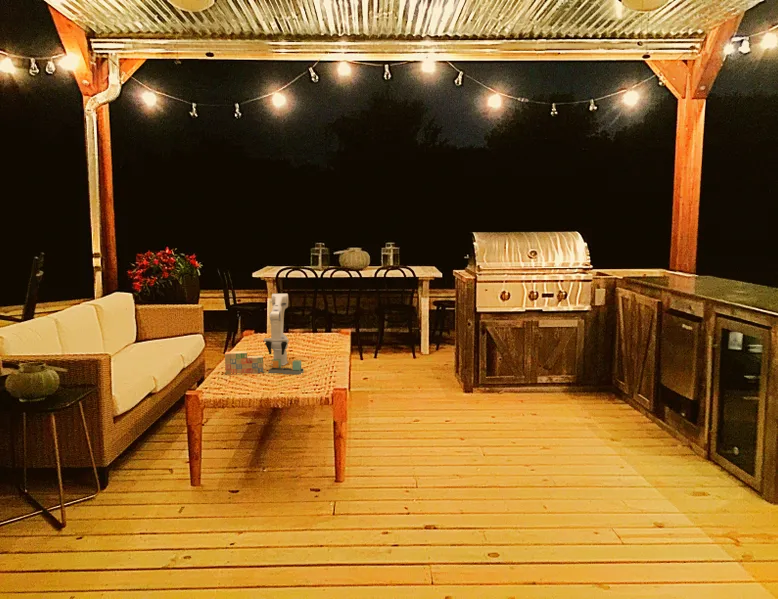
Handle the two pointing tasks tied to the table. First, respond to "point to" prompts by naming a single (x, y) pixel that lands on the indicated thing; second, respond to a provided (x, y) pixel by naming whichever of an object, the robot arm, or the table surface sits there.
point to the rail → (289, 369)
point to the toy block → (276, 363)
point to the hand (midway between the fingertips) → (276, 354)
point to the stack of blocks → (242, 363)
